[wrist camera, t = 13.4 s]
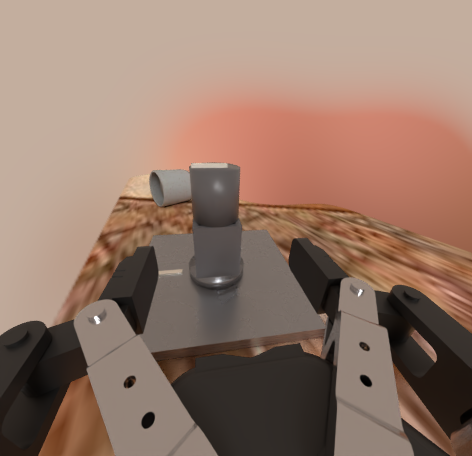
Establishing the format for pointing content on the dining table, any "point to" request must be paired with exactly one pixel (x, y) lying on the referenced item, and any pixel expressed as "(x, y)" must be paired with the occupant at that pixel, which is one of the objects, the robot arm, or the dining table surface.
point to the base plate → (225, 301)
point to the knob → (216, 219)
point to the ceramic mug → (170, 186)
